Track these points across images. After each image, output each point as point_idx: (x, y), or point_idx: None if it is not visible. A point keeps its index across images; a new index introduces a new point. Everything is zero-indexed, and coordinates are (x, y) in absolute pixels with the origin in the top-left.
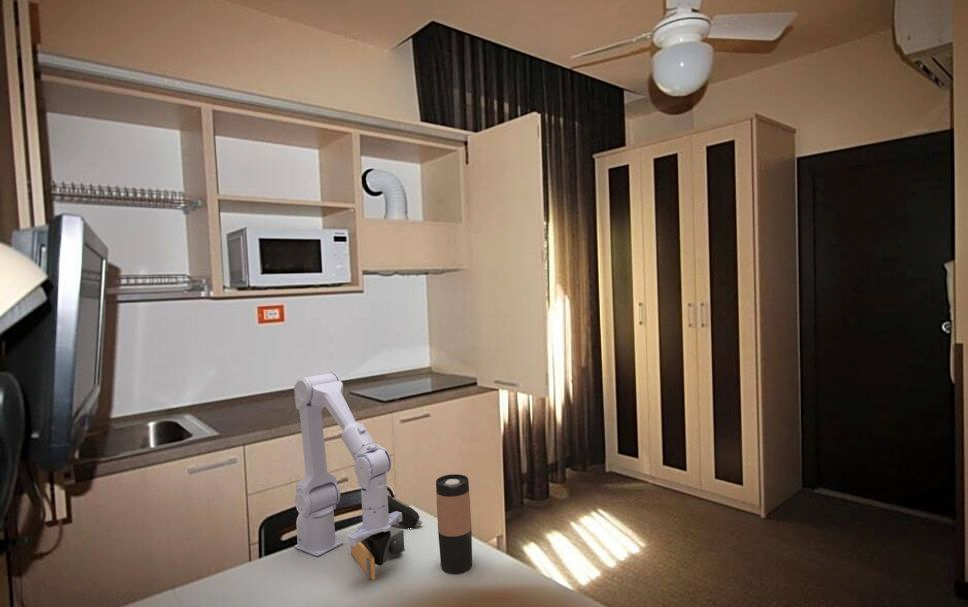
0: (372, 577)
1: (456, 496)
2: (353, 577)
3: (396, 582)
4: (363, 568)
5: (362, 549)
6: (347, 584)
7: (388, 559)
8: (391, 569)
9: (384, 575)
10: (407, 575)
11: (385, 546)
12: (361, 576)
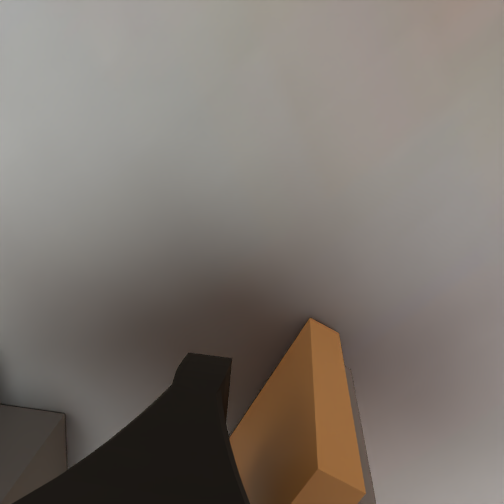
0: (333, 340)
1: None
2: None
3: (261, 96)
4: None
5: None
6: (458, 469)
7: (7, 407)
8: (106, 292)
9: (214, 286)
10: (105, 77)
11: (84, 475)
12: None
